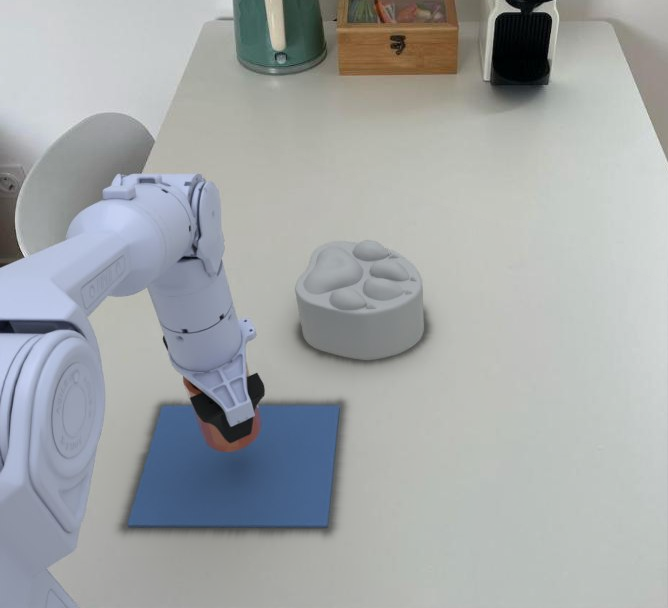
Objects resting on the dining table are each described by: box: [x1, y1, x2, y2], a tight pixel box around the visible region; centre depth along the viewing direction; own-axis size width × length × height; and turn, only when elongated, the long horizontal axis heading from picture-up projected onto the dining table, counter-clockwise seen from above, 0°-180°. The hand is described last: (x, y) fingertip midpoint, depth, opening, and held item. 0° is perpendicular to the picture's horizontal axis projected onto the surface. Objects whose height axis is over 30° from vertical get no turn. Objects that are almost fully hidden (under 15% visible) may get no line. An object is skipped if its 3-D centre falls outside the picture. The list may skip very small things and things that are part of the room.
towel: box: [126, 404, 341, 529], centre depth 77 cm, size 18×13×1 cm
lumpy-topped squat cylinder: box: [294, 239, 425, 361], centre depth 87 cm, size 10×13×9 cm
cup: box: [182, 360, 262, 452], centre depth 70 cm, size 5×5×8 cm
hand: (227, 411), depth 71 cm, fingers closed on cup, 5 cm apart
